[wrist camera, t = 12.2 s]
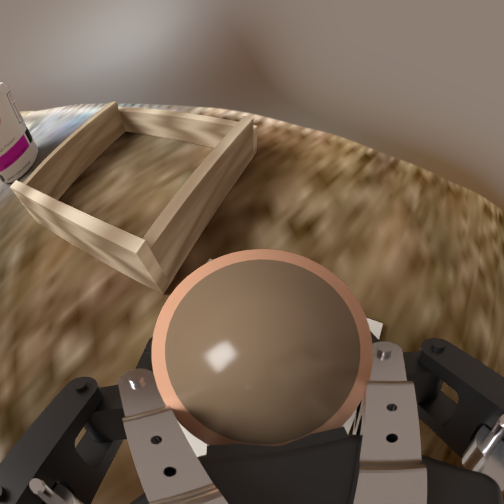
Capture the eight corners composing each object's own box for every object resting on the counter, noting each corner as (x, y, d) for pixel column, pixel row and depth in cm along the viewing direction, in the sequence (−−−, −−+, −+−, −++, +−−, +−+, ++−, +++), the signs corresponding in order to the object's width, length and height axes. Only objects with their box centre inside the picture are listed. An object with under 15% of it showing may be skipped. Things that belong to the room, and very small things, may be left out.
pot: (304, 330, 16) (351, 245, 9) (312, 427, 13) (384, 438, 5) (204, 334, 16) (162, 251, 8) (204, 432, 13) (148, 453, 5)
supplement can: (30, 176, 29) (-13, 97, 16) (-3, 191, 28) (-45, 124, 15) (46, 144, 33) (14, 73, 20) (14, 159, 32) (-19, 96, 19)
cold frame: (256, 152, 29) (257, 105, 24) (163, 294, 20) (136, 253, 15) (125, 126, 33) (114, 91, 28) (36, 221, 24) (10, 186, 19)
